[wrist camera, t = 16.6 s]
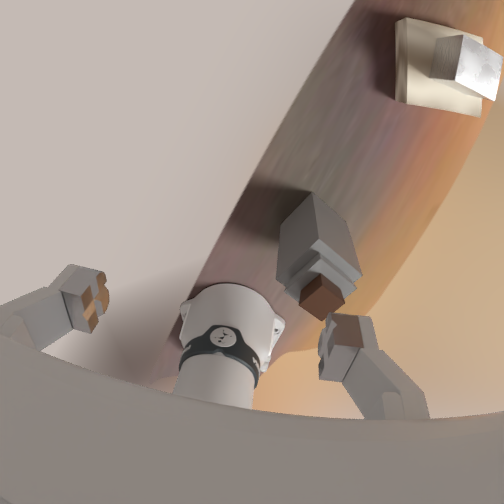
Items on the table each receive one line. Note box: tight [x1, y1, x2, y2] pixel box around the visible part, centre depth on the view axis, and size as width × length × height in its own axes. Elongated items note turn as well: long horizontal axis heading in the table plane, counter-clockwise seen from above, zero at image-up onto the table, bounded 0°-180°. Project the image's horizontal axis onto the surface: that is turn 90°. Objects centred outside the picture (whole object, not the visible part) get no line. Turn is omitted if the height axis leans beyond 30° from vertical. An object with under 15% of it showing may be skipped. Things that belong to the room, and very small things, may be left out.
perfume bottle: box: [276, 192, 362, 321], centre depth 39 cm, size 7×7×18 cm
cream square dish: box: [395, 18, 483, 118], centre depth 30 cm, size 11×11×5 cm
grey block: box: [429, 34, 503, 101], centre depth 25 cm, size 6×6×7 cm
